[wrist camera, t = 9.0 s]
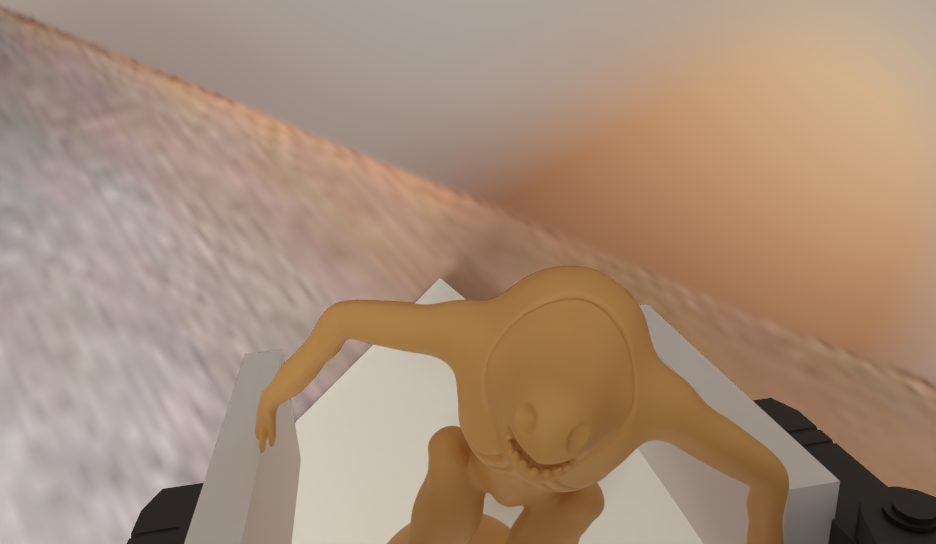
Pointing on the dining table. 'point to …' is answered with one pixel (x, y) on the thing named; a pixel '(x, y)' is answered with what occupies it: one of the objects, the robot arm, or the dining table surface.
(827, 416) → the dining table surface
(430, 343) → the figurine
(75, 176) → the dining table surface
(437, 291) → the coaster
